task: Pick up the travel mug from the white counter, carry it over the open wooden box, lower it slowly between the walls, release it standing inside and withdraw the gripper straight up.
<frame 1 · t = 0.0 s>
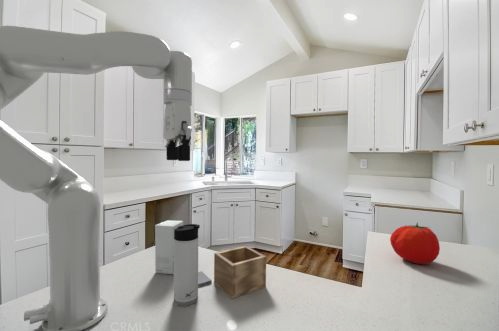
hand: (177, 160, 71), 37 cm above the countertop, tool pointing down, fingers open, 9 cm apart
travel mug: (186, 300, 67), on the countertop
slate coaster: (195, 281, 77), on the countertop
open wooden box: (239, 284, 75), on the countertop
skincare box: (169, 269, 85), on the countertop
tomato: (413, 262, 94), on the countertop
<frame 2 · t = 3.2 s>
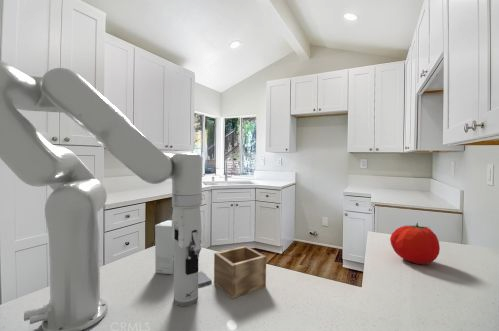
hand: (186, 267, 67), 9 cm above the countertop, tool pointing down, fingers closed on travel mug, 6 cm apart
travel mug: (186, 300, 67), on the countertop, touching gripper
everything else where it was.
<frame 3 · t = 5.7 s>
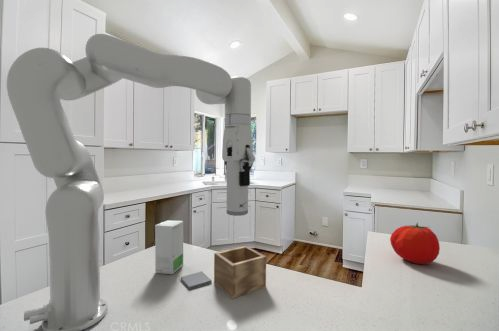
hand: (237, 183, 74), 30 cm above the countertop, tool pointing down, fingers closed on travel mug, 6 cm apart
travel mug: (237, 213, 74), point 21 cm above the countertop, touching gripper
everything else where it was.
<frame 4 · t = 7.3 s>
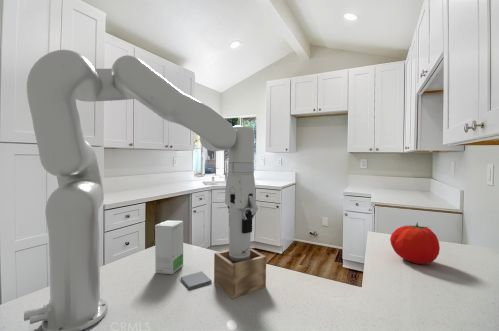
hand: (240, 229, 75), 17 cm above the countertop, tool pointing down, fingers closed on travel mug, 6 cm apart
travel mug: (240, 258, 75), point 8 cm above the countertop, touching gripper
everything else where it was.
when the fingers open (11 cm above the countertop, at t = 8.7 s): travel mug drops 1 cm, resting on open wooden box.
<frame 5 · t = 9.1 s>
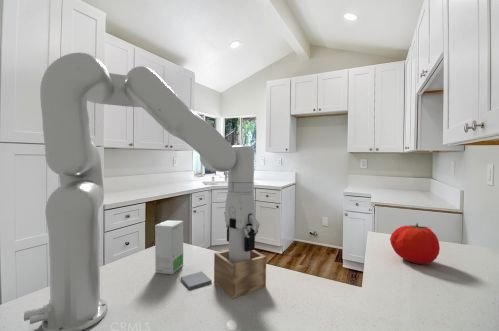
hand: (240, 245, 75), 12 cm above the countertop, tool pointing down, fingers open, 9 cm apart
travel mug: (239, 282, 75), point 1 cm above the countertop, touching open wooden box
everything else where it was.
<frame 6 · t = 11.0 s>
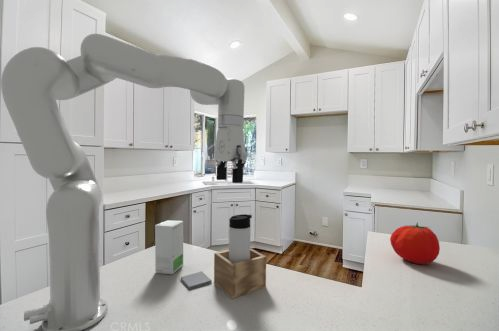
hand: (229, 181, 75), 31 cm above the countertop, tool pointing down, fingers open, 9 cm apart
nothing on the countertop moved.
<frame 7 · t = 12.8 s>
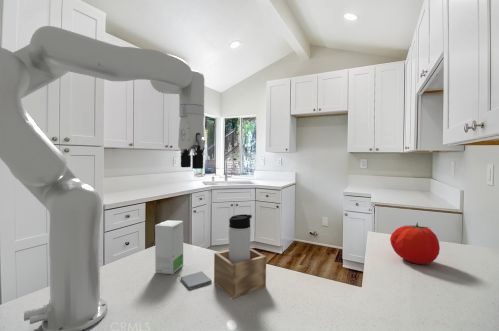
hand: (191, 167, 79), 34 cm above the countertop, tool pointing down, fingers open, 9 cm apart
nothing on the countertop moved.
at the end: travel mug 0.4 cm off-centre on the open wooden box, point 0.8 cm above the open wooden box's base; travel mug tilted 0°; the gripper is holding nothing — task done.
